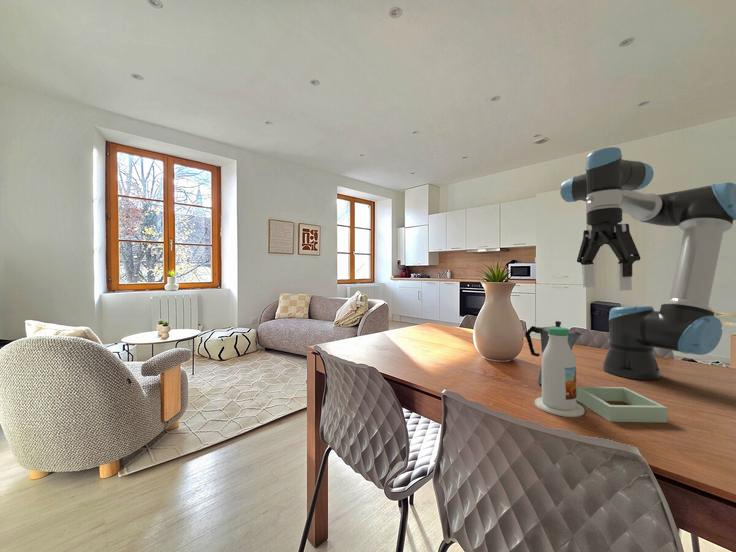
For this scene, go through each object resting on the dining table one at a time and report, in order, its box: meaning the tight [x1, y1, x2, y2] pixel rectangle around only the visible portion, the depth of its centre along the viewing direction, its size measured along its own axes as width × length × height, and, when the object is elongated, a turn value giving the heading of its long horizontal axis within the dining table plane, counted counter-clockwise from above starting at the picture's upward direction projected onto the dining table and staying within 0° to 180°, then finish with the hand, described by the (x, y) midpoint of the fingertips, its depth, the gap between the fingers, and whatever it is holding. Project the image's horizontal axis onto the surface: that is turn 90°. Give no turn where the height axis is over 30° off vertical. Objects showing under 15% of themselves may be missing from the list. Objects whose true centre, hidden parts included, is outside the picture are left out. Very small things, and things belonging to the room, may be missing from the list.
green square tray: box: [576, 386, 668, 423], centre depth 80 cm, size 13×13×4 cm
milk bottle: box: [541, 326, 578, 410], centre depth 81 cm, size 8×8×20 cm
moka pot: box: [524, 320, 582, 386], centre depth 97 cm, size 10×15×20 cm, turn 78°
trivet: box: [534, 396, 585, 418], centre depth 81 cm, size 11×11×1 cm
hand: (605, 288), depth 84 cm, fingers open, 13 cm apart
